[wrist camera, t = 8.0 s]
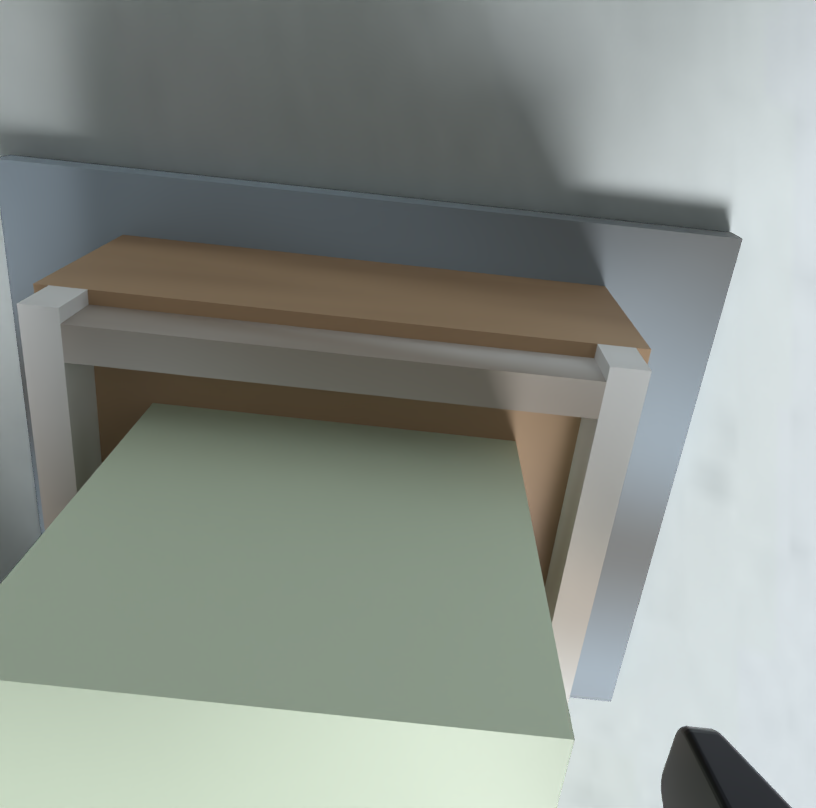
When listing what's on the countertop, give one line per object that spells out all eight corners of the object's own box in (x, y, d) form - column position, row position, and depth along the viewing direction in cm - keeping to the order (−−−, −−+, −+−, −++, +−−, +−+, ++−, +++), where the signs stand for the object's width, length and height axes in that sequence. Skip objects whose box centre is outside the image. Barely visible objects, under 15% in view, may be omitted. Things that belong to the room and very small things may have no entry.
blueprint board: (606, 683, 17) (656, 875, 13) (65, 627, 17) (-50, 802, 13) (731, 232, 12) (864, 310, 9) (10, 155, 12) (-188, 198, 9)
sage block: (467, 708, 12) (483, 1083, 8) (166, 677, 12) (6, 1035, 8) (515, 441, 10) (574, 739, 6) (153, 402, 10) (-75, 672, 6)
